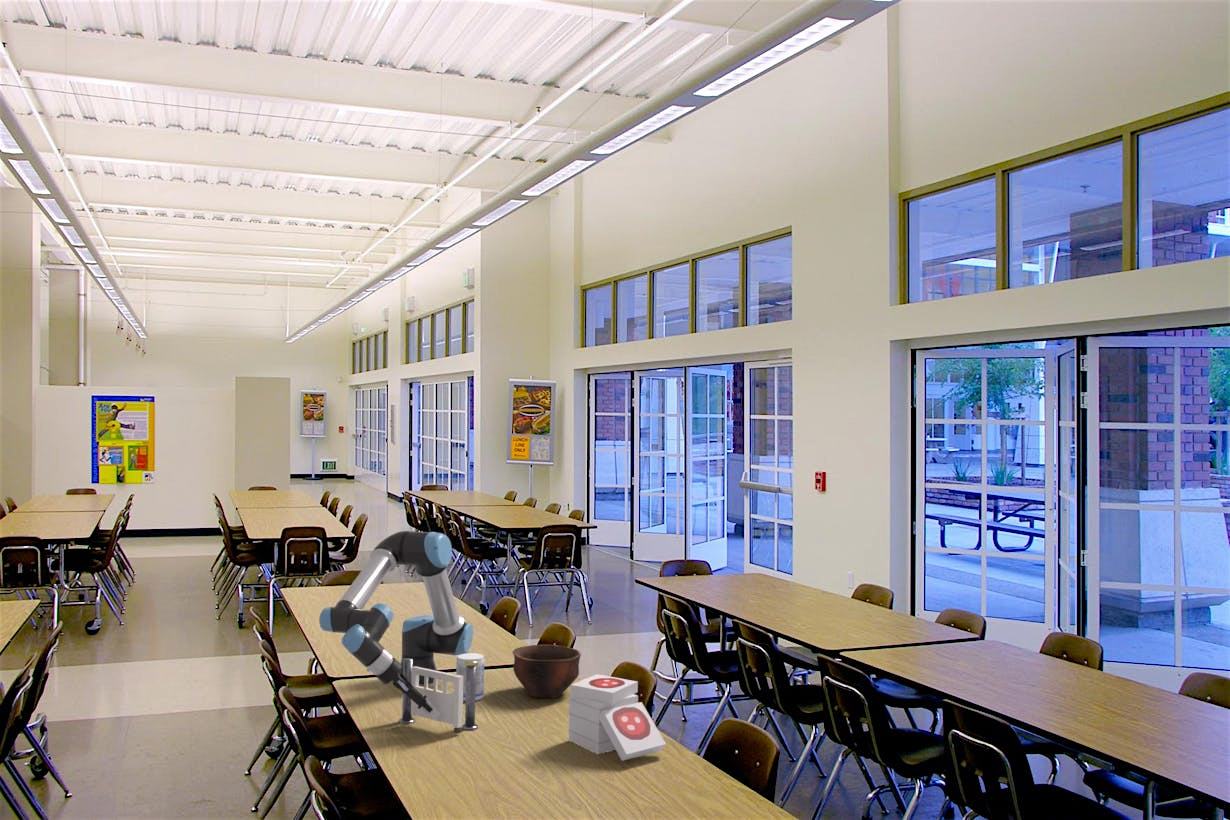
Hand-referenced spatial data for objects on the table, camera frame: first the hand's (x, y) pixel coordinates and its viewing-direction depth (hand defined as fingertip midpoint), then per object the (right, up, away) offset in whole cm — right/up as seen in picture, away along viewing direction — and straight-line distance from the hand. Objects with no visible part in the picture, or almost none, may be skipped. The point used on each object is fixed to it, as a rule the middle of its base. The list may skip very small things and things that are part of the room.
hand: (437, 716), depth 295 cm
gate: (-1, -4, +3) cm, 5 cm away
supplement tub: (+4, -6, +37) cm, 37 cm away
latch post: (+9, -5, +5) cm, 12 cm away
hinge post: (-12, -5, +10) cm, 16 cm away
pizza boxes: (+55, -6, -11) cm, 56 cm away
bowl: (+31, -6, +44) cm, 54 cm away
